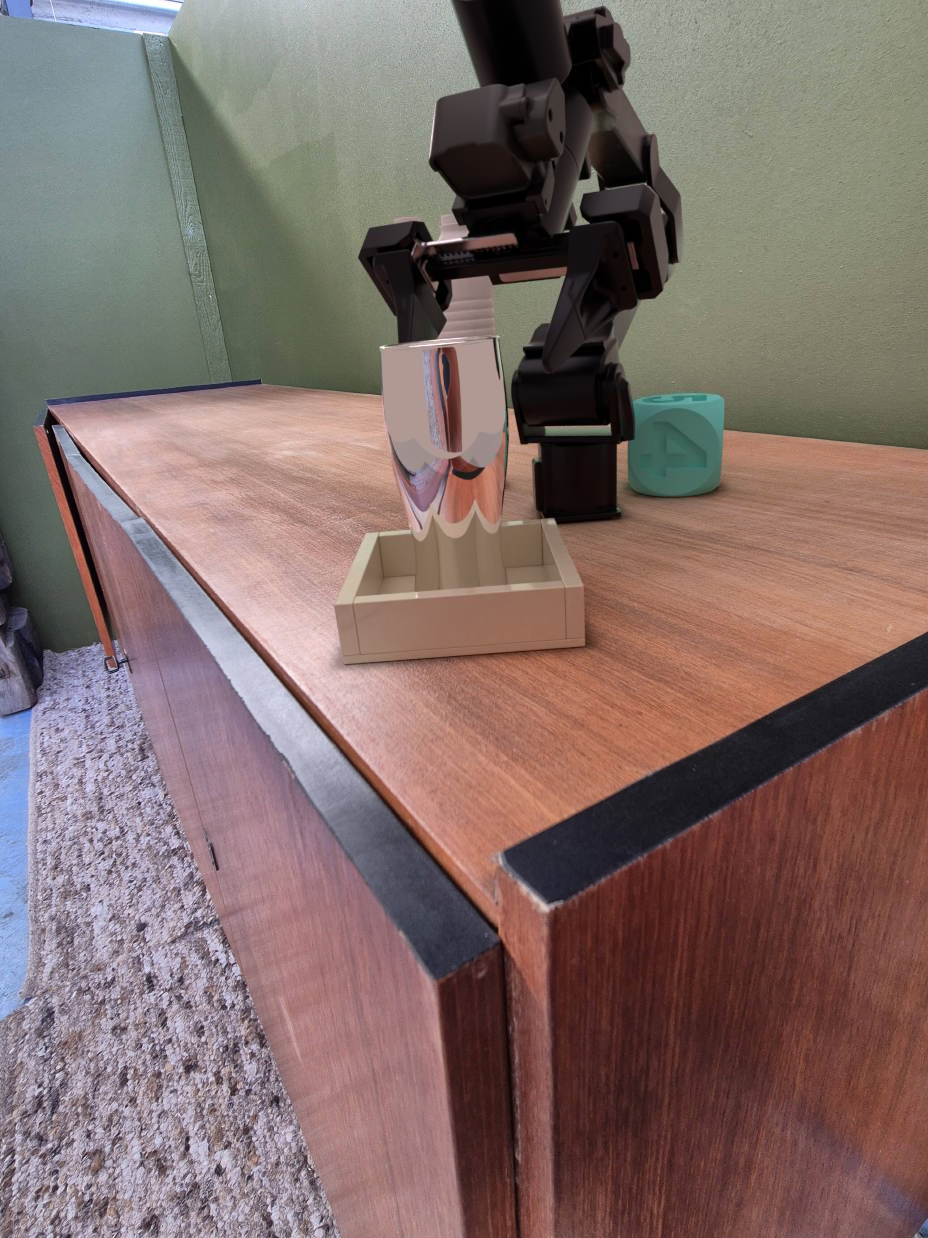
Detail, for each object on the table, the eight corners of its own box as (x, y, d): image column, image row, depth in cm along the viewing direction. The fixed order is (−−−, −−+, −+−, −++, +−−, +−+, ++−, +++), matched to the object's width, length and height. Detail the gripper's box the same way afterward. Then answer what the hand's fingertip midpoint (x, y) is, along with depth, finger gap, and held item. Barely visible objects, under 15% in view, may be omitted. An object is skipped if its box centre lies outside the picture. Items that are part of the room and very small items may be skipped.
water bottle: (507, 477, 77) (491, 213, 67) (503, 492, 71) (485, 204, 61) (427, 482, 78) (400, 223, 68) (417, 497, 72) (386, 215, 62)
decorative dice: (719, 497, 63) (725, 402, 60) (626, 497, 65) (627, 407, 62) (718, 476, 70) (723, 391, 66) (634, 477, 72) (635, 395, 69)
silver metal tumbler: (533, 583, 46) (522, 332, 40) (493, 627, 40) (472, 341, 34) (436, 575, 48) (412, 340, 43) (386, 616, 43) (349, 350, 37)
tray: (556, 566, 50) (554, 517, 48) (585, 646, 38) (584, 585, 37) (371, 580, 50) (365, 532, 49) (343, 664, 38) (333, 604, 37)
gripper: (353, 79, 43) (265, 280, 39) (663, -6, 35) (597, 237, 31) (429, 231, 53) (366, 407, 48) (687, 193, 45) (640, 401, 40)
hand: (472, 371), depth 42 cm, fingers open, 9 cm apart
